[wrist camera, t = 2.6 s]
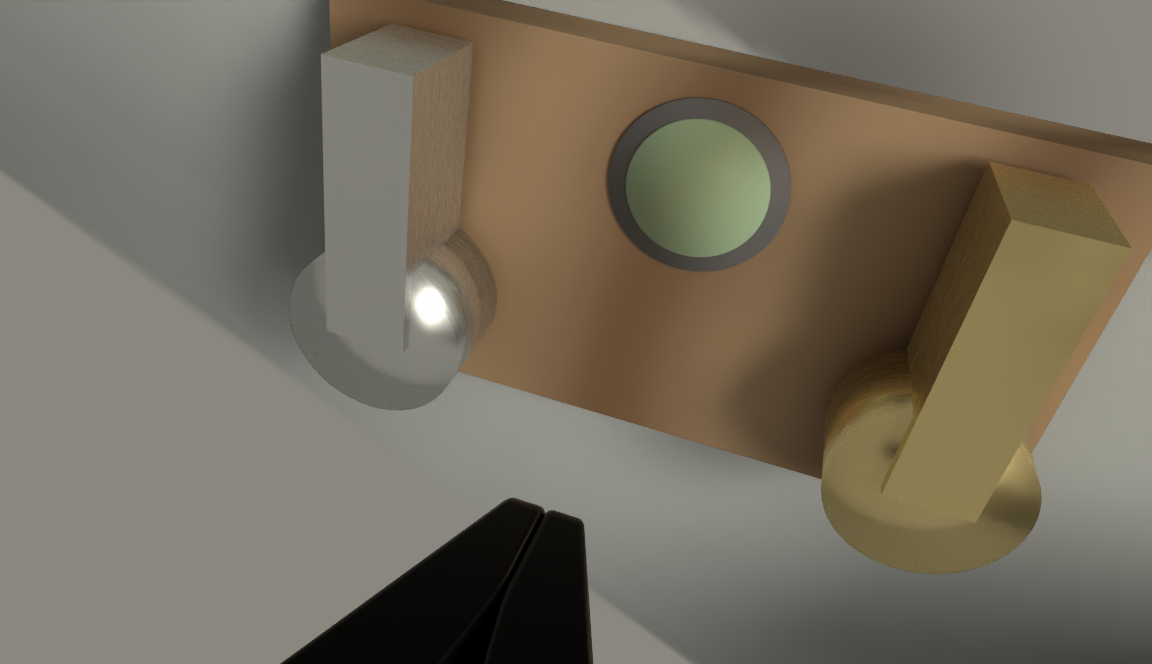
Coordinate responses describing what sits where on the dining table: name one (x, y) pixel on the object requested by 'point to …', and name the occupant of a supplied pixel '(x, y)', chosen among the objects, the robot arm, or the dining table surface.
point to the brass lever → (970, 381)
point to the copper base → (721, 218)
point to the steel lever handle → (394, 223)
